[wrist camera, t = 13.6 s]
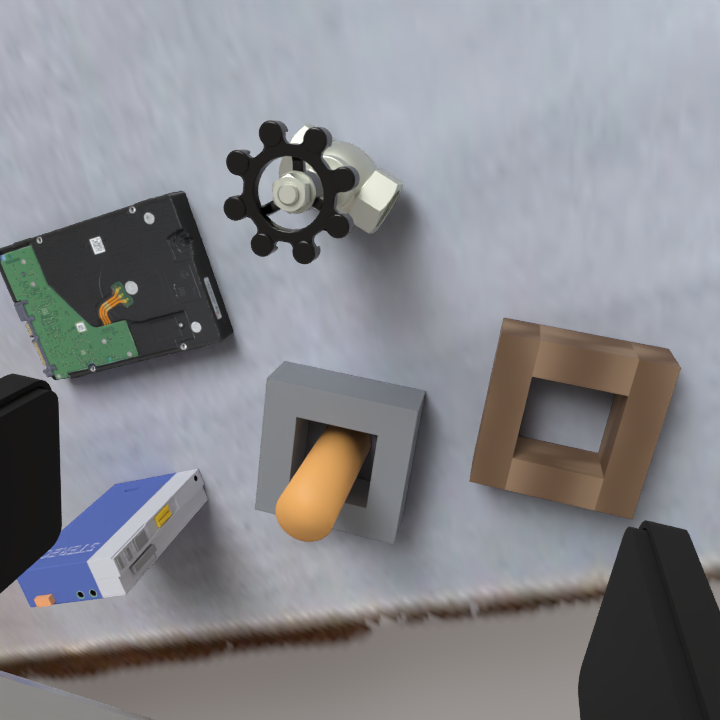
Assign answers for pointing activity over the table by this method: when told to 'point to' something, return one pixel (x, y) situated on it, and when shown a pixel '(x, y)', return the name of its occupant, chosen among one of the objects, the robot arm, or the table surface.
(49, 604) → the walkman
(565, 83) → the table surface
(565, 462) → the block
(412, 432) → the socket block
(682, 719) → the robot arm
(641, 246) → the table surface
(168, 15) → the table surface
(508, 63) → the table surface
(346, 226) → the valve
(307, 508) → the pin
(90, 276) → the disk drive
